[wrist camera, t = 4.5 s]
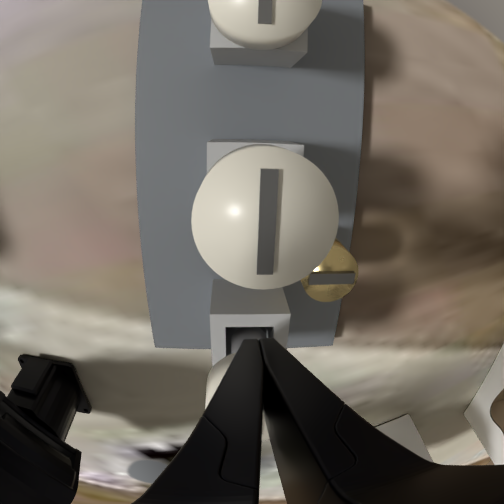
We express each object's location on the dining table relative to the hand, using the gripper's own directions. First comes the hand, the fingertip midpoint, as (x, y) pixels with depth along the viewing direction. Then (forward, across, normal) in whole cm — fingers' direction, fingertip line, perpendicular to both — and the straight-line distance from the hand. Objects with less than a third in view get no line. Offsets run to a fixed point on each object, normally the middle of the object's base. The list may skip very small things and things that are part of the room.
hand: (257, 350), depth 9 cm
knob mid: (+7, -1, -3) cm, 8 cm away
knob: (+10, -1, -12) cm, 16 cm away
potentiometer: (+11, -4, +1) cm, 12 cm away
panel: (+12, -1, -3) cm, 12 cm away
